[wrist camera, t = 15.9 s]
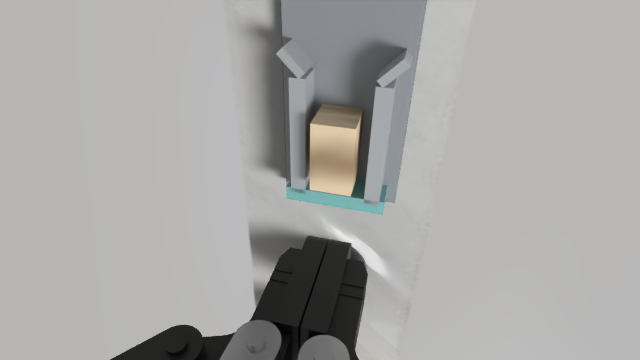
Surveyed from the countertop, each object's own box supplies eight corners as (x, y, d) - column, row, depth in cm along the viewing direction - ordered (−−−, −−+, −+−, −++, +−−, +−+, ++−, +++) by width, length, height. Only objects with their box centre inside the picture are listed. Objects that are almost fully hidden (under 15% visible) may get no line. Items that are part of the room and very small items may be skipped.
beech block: (322, 103, 38) (310, 123, 34) (364, 108, 37) (355, 129, 33) (320, 166, 41) (309, 189, 38) (358, 171, 41) (350, 196, 37)
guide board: (284, -28, 33) (267, -22, 30) (429, -20, 31) (429, -12, 28) (289, 179, 45) (277, 200, 41) (395, 196, 43) (392, 220, 39)
